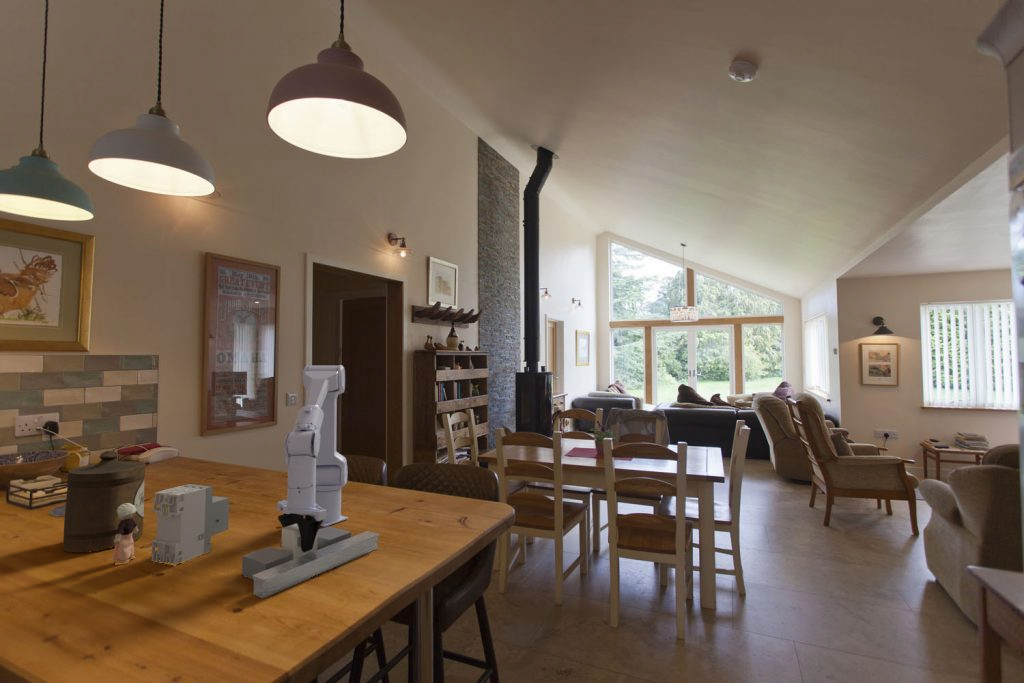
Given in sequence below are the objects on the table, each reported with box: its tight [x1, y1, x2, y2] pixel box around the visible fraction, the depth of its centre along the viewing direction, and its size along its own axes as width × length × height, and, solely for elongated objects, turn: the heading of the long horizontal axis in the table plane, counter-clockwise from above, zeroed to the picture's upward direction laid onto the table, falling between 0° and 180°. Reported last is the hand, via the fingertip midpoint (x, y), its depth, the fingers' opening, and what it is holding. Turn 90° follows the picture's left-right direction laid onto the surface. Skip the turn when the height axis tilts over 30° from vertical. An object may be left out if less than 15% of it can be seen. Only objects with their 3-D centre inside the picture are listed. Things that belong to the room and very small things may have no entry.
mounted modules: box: [241, 525, 352, 581], centre depth 104 cm, size 8×21×4 cm, turn 149°
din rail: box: [252, 530, 380, 600], centre depth 100 cm, size 4×28×4 cm, turn 149°
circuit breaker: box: [150, 483, 231, 565], centre depth 110 cm, size 8×14×15 cm, turn 161°
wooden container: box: [62, 450, 146, 553], centre depth 117 cm, size 15×15×22 cm
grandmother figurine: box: [112, 503, 138, 563], centre depth 104 cm, size 8×4×13 cm, turn 23°
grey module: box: [281, 523, 318, 559], centre depth 104 cm, size 4×6×7 cm
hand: (300, 548), depth 104 cm, fingers closed on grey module, 4 cm apart
